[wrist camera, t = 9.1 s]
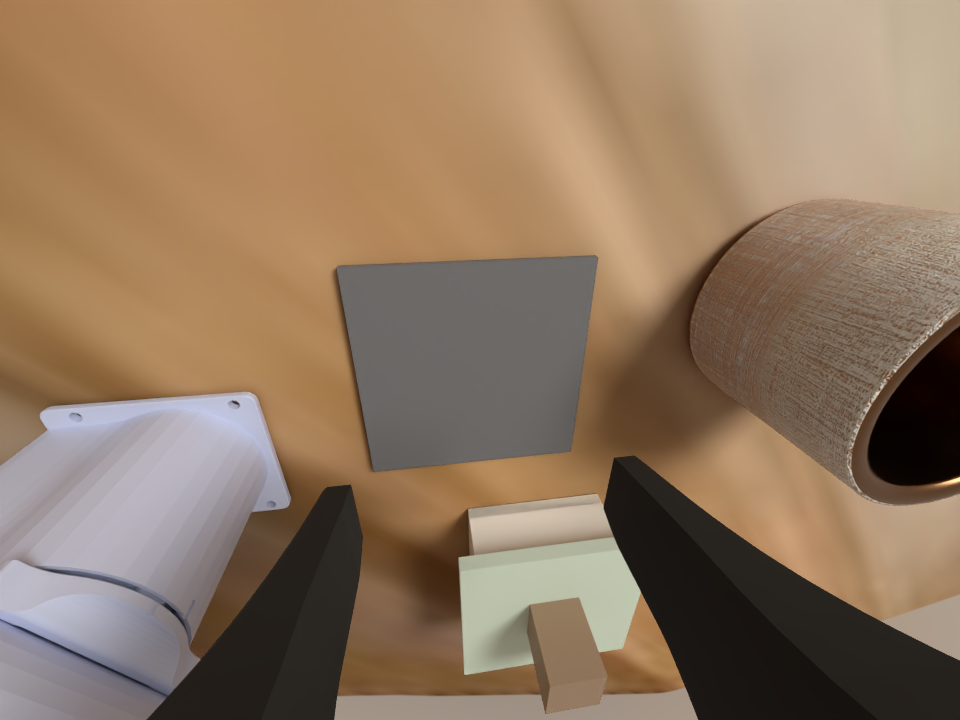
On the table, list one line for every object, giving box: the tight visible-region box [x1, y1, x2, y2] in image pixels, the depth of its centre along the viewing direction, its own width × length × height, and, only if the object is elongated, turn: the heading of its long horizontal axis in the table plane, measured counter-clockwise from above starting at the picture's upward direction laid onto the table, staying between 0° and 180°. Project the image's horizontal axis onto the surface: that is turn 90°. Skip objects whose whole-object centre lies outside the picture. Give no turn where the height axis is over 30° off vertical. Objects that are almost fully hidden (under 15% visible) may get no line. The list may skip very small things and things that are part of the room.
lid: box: [458, 537, 641, 714], centre depth 22 cm, size 11×11×5 cm
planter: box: [689, 199, 960, 506], centre depth 17 cm, size 11×11×10 cm
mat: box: [337, 255, 598, 472], centre depth 21 cm, size 12×12×1 cm
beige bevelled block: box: [468, 494, 614, 556], centre depth 26 cm, size 9×9×4 cm
